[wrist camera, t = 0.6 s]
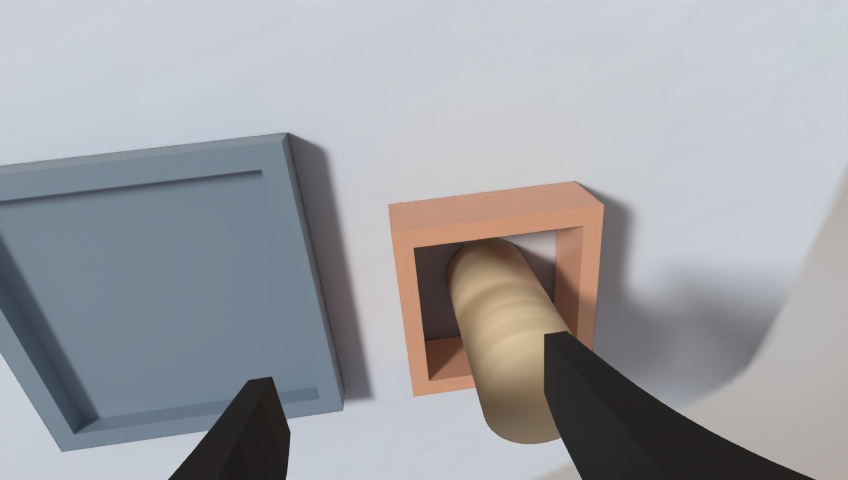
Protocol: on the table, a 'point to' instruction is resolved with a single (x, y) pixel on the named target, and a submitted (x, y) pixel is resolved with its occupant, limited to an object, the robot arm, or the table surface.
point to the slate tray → (161, 289)
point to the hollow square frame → (486, 218)
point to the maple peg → (505, 336)
